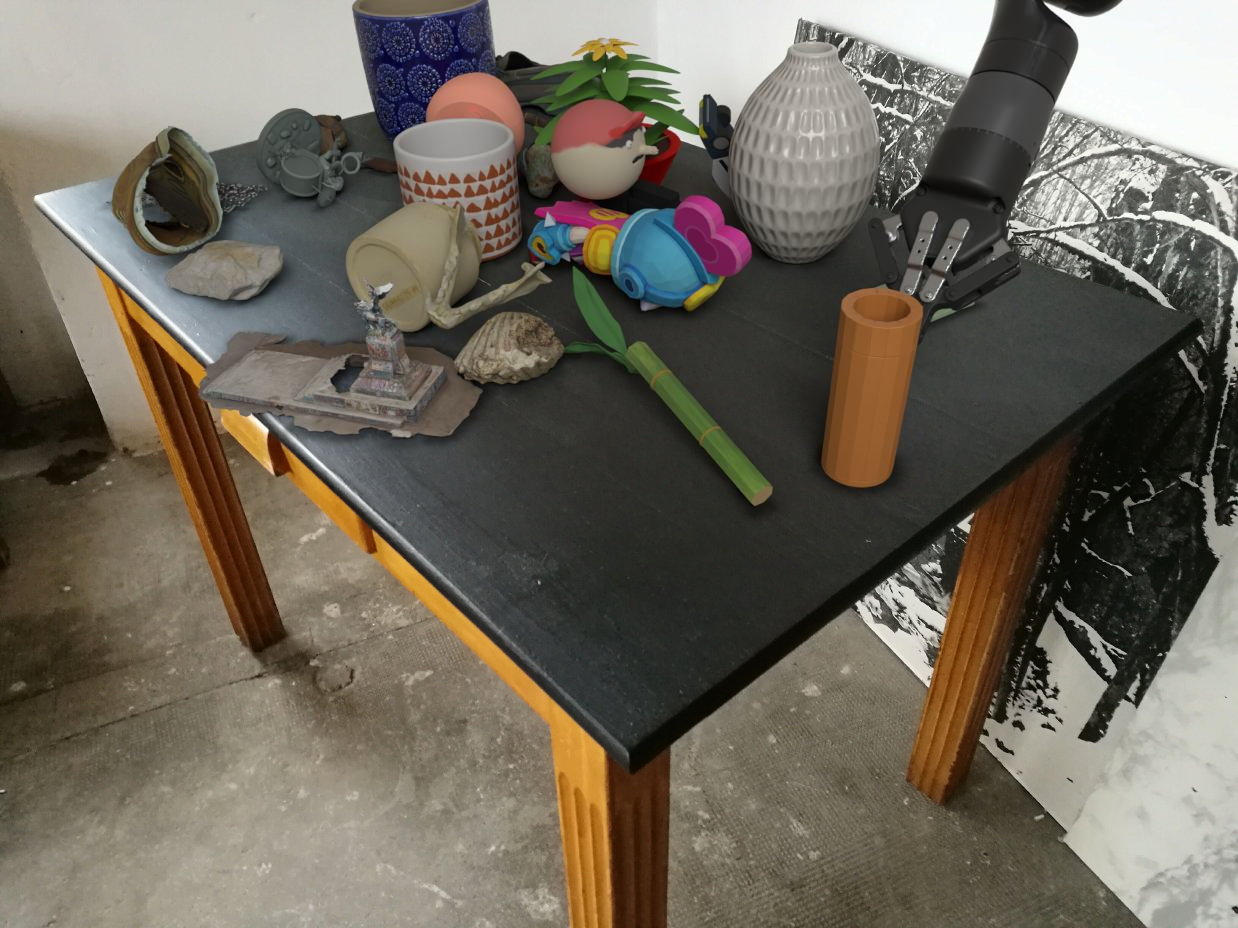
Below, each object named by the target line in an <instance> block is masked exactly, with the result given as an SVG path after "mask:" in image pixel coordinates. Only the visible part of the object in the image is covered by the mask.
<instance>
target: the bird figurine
mask: <svg viewBox="0 0 1238 928" xmlns="http://www.w3.org/2000/svg"><path fill="white" fill-rule="evenodd" d="M523 117H524V124H527V125H529V126H531V127H532V128H534V126H538V127H542V128H544V127H545V126H546V125H547V124H548V123H549V122H550V121H549V120H547V119H544V118H541V117H540V116H538V113H536V114H532V113H531V112H529V111H527V112H525V113H524V116H523ZM535 133H536V138H537V137H538V135H539V133H538V132H537V131H536V130H535ZM550 148H551V142H549V143H547V144H544V145H542V146H535V141H534V142H532V143H528V145H526V147H525V148H524V149H523V150H522V153H521V159H520V170H521V173H522V175H523V176H524V177H525V179H526V183H527V188H528V191H529V193H530V194H531V195H532V196H534V197H537V198H539V199H547V198H548V197H550V196H551V195H552V193H553V189H554V186H559V185H561V184H563V183H562V182H561V180H560V179H559V177H558V176H557V174H556V171H555V169H554V166H553V163H552V158H551V150H550Z"/></svg>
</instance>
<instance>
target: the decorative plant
mask: <svg viewBox="0 0 1238 928" xmlns="http://www.w3.org/2000/svg"><path fill="white" fill-rule="evenodd" d="M572 285H573V293H574V298H575V301H576V304H577V306H578V308H579V310H580V313H581V315H582V317H583V318H584V320H585V322H586V324H587V326H588V327H589V329H590V330H591V332H592V333H593V334H594V335H595V336H596V338H598V339H599V340H600V341H601V342H602V343H604V345H606V346H607V347H610V348H611V349H613V350H614V351H615V352H612V351H610V350H608V349H607V348H605V347H604V346H602V345H600V344H598V343H589V342H588V343H587V342H579V341H575V342H571V343H570V344H568V345H566V346H563V347H564V351H563V354H579V353H581V354H582V353H590V352H591V353H596V354H599V355H607V356H609V357H610V358H612V359H613V360H614V361H617V362H618V363H620V364H622V365H624V366H625V368H626V370H627V371H628V372H629V373H630V374H636V375H638V374H639V375H641V376H642V377H643V378H644V380H645V381H646V382H647V383H648V384H649V386H650V390H651V391H654V392H656V394H657V395H658V396H659V397H660V398H661V399H662V401H663V402H664V403H665V404H666V405H667V407H668V408H669V409H670V410H671V411H672V412H673V413H674V415H675V416H676V417H677V419H679V421H680V422H681V423H682V424H683V425H684V427H686V429H687V430H688V431H689V432H690V434H692V436H693V437H694V438H695V439H696V440H697V442H698V444H699V446H700V447H701V448H704V450H705V451H706V452H707V454H708V455H710V457H711V458H712V459H713V460H714V461H715V462H716V464H717V465H718V467H720V468H721V470H722V471H723V472H724V474H725V475H726V476H727V477H728V478H729V479H730V480H731V482H732V483H734V485H735V486H736V488H738V489H739V491H740V492H741V493H742V494H743V495H744V497H745V498H746V499H747V500H748V501H749V503H751V504H752V505H753V506H754V507H756V506H758V505H761V504H763V503H764V502H766V500H768V499H769V497H770V496H772V495H773V486H772V484H771V483H770V482H769V481H768V479H766V477H765V476H764V475H763V474H762V473H761V472H760V471H759V469H758V468H757V467H756V466H755V465H754V464H753V463H752V461H750V460H749V458H748V457H747V456H746V455H745V453H744V452H743V451H742V450H741V449H740V448H739V447H738V446H737V445H736V444H735V443H734V441H733V440H732V439H731V438H730V437H729V436H728V434H727V433H726V432H725V431H724V430H723V429H722V427H721V426H719V424H718V423H717V422H716V421H715V420H714V419H713V418H712V416H711V415H710V414H709V413H708V411H706V409H704V407H703V406H702V405H701V404H700V403H699V402H698V401H697V400H696V398H695V397H694V396H693V395H692V394H691V393H690V391H689V390H687V388H686V387H685V386H684V385H683V384H682V382H681V381H680V380H679V379H678V378H677V377H676V376H675V374H673V373H674V372H673V371H672V370H670V369H669V368H668V366H667V365H666V364H665V363H664V362H663V360H661V359H660V358H659V357H658V356H657V354H656V353H655V352H654V351H653V350H652V349H651V348H650V346H649V345H648V344H647V343H646V342H645V341H639V340H637V341H636V342H634V343H633V344H631V345H630V346H628V348H627V344H626V340H625V335H624V333H623V331H622V327H621V325H620V324H619V322H618V321H617V320H616V319H615V318H614V317H613V315H612V313H611V312H610V311H609V309H608V307H607V306H606V304H605V302H604V301H603V299H602V298H601V296H600V295H599V293H598V292H597V290H596V288H595V286H594V285H593V284H592V282H591V281H590V280H589V279H588V278H587V277H586V276H585V274H584V273H583V272H581V271H580V270H579V269H578V268H577V267H575V266H574V265H573V266H572Z"/></svg>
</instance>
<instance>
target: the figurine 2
mask: <svg viewBox="0 0 1238 928" xmlns="http://www.w3.org/2000/svg"><path fill="white" fill-rule="evenodd" d="M313 116H314V117H315V118H316V120H317V121H318V123H319V125H320V127H321V131H322V146H321V150H320V154H319V156H322V155H323V154H325V153H327V151H328V150H332V147H333V144H334V142H335V140H336V139H337V138H340V140H339V141H338V150H340V151H341V150H342V149H344V148H345V146H346V145H347V142H348V136H347V134H346V131H345V129H344V128H343V126H342V124H341V123H340V122H342V116H341V115H339V114H336V115H331V114H330V115H329V114H317V115H313ZM329 160H330V161H331V158H330V159H329Z"/></svg>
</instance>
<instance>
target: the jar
mask: <svg viewBox="0 0 1238 928" xmlns="http://www.w3.org/2000/svg"><path fill="white" fill-rule="evenodd" d="M922 317H923V307H922V305H921V304H920V303H919V302H918V300H916V299H915V298H913V297H912V296H910V295H908V294H906V293H903V292H899V291H895V290H891V289H884V288H875V287H868V288H861V289H858V290H856V291H852V292H850V293H848V294H847V295H846V296H844V297H843V299H842V300H841V304H840V311H839V319H838V325H837V336H836V341H835V351H834V358H833V366H832V367H833V368H832V374H831V381H830V389H829V396H828V405H827V413H826V419H825V428H824V435H823V443H822V451H821V458H820V464H821V468H822V470H823V472H824V473H825V474H826V476H828V477H829V478H830V479H832V480H833V481H835V482H837V483H839V484H841V485H843V486H848V487H852V488H870V487H875V486H878V485H881V484H883V483H885V482H886V481H887V480H888V479H889V478H890V476H891V475H892V473H893V469H894V466H895V461H896V455H897V451H898V450H897V449H898V446H899V440H900V434H901V429H902V425H903V419H904V414H905V410H906V404H907V400H908V399H907V398H908V395H909V389H910V384H911V379H912V374H913V368H914V363H915V358H916V354H917V353H916V352H917V348H918V346H917V343H918V338H919V333H920V328H921V323H922Z"/></svg>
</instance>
